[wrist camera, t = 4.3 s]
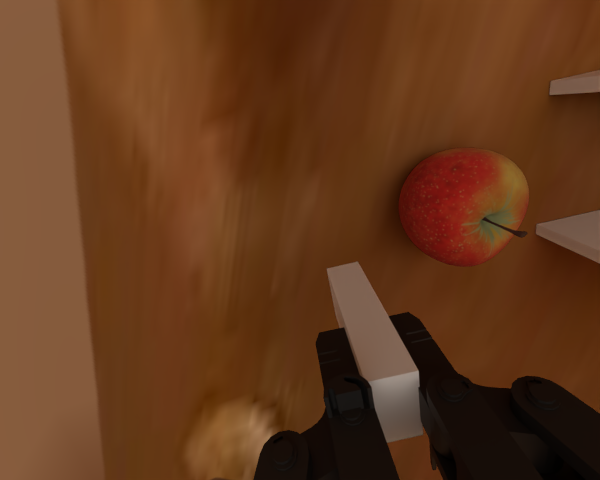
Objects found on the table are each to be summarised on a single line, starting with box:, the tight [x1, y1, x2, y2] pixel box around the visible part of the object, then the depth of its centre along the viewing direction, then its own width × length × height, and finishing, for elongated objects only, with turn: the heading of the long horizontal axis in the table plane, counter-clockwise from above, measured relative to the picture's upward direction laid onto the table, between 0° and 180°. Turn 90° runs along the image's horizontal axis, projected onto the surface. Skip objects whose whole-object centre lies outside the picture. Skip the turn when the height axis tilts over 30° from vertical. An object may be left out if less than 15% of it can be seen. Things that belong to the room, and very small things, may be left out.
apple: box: [399, 147, 529, 266], centre depth 22 cm, size 8×8×10 cm
